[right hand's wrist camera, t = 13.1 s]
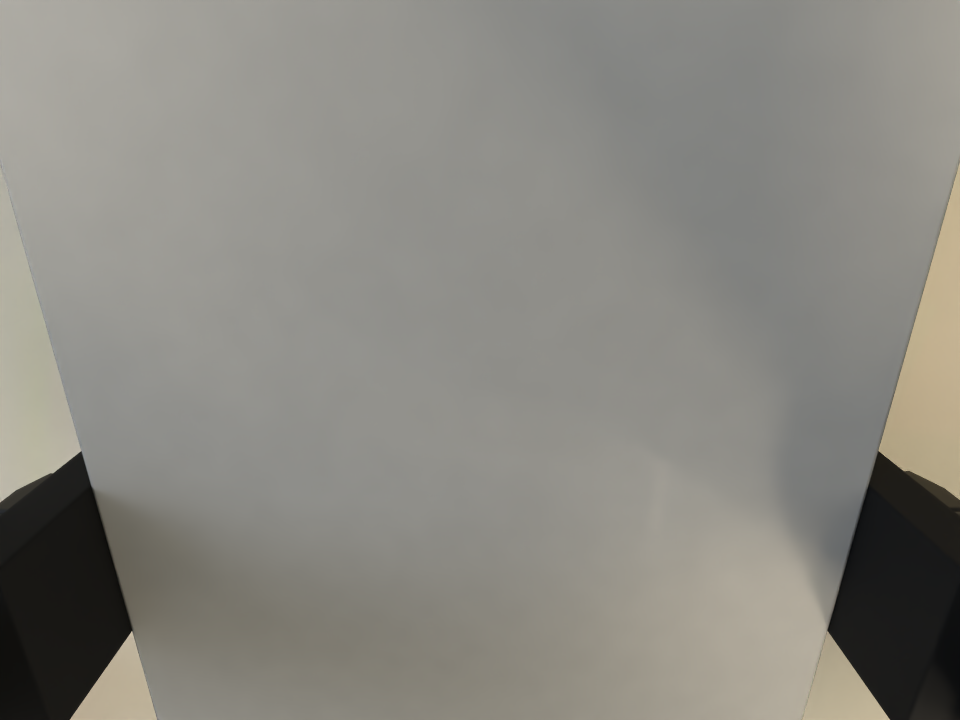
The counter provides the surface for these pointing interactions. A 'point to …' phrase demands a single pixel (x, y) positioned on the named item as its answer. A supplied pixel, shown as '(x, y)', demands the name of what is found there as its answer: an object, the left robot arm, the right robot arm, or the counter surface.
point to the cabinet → (479, 334)
